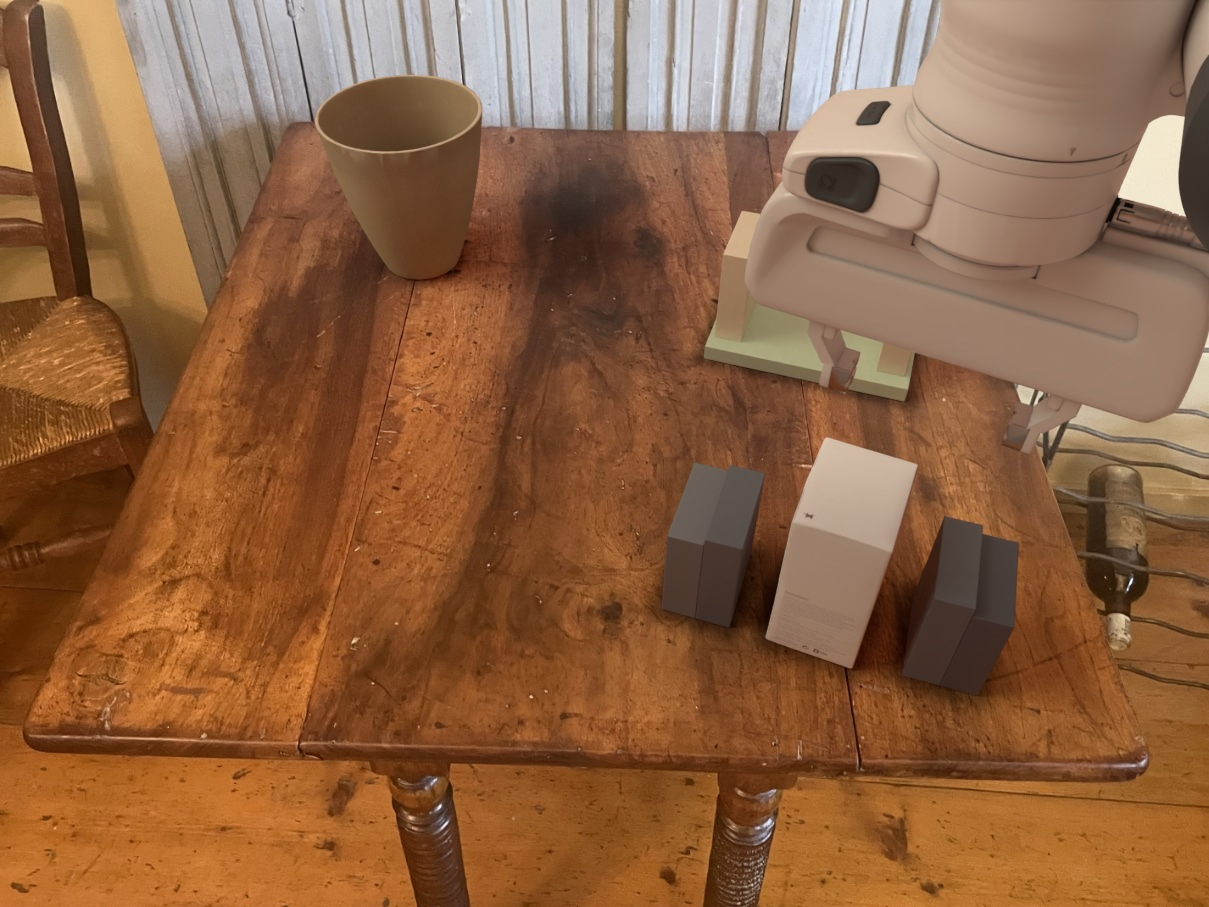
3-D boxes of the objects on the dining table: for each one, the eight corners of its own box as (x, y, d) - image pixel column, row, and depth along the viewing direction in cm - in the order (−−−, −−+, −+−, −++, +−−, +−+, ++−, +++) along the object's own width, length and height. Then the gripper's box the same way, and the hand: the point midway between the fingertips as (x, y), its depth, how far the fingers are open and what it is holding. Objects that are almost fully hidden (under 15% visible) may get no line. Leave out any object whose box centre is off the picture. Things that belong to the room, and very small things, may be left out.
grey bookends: (984, 613, 70) (1023, 534, 64) (977, 696, 66) (1018, 620, 59) (686, 537, 75) (695, 456, 69) (661, 609, 71) (667, 529, 64)
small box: (852, 672, 67) (894, 554, 58) (763, 640, 69) (788, 521, 59) (878, 583, 72) (920, 461, 63) (794, 555, 74) (823, 433, 65)
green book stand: (917, 332, 92) (945, 237, 85) (904, 402, 86) (933, 305, 78) (729, 294, 96) (740, 200, 88) (703, 358, 90) (712, 262, 82)
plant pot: (524, 243, 102) (514, 96, 90) (436, 321, 93) (413, 170, 82) (410, 202, 107) (387, 59, 96) (317, 273, 98) (278, 124, 87)
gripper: (1284, 198, 39) (1145, 440, 50) (799, 86, 46) (763, 320, 56) (1278, 283, 36) (1128, 526, 46) (749, 147, 42) (720, 387, 52)
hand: (924, 411), depth 51 cm, fingers open, 8 cm apart
